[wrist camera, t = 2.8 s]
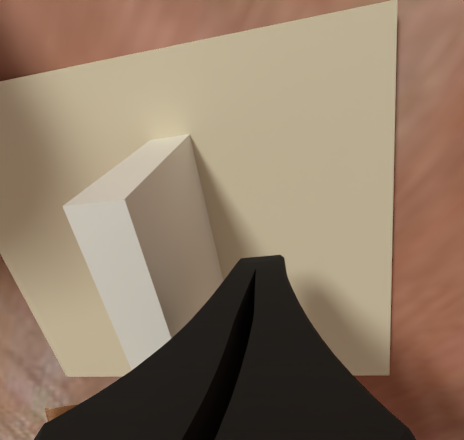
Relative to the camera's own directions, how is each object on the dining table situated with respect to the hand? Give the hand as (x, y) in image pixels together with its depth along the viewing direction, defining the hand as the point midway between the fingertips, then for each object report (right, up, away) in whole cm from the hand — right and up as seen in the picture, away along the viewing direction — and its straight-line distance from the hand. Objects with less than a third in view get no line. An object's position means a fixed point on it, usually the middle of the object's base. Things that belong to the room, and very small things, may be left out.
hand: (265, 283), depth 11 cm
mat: (-3, +1, +5) cm, 6 cm away
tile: (-3, +2, +4) cm, 5 cm away
